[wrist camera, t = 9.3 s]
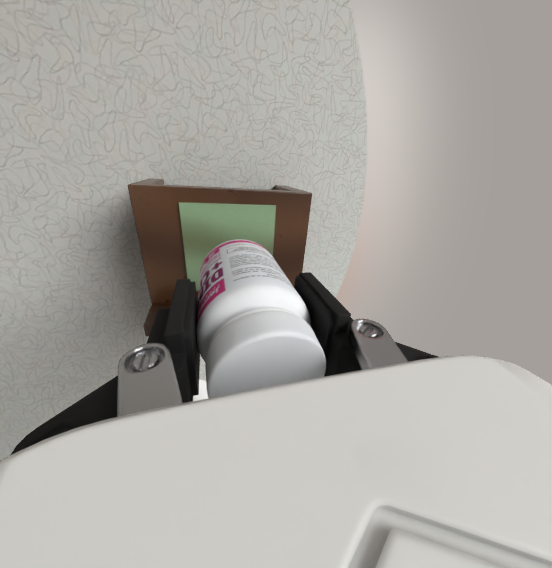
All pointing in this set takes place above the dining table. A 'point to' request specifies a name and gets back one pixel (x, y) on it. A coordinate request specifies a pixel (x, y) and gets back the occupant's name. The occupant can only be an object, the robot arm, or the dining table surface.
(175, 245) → the shelf
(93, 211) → the dining table surface
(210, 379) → the pill bottle
